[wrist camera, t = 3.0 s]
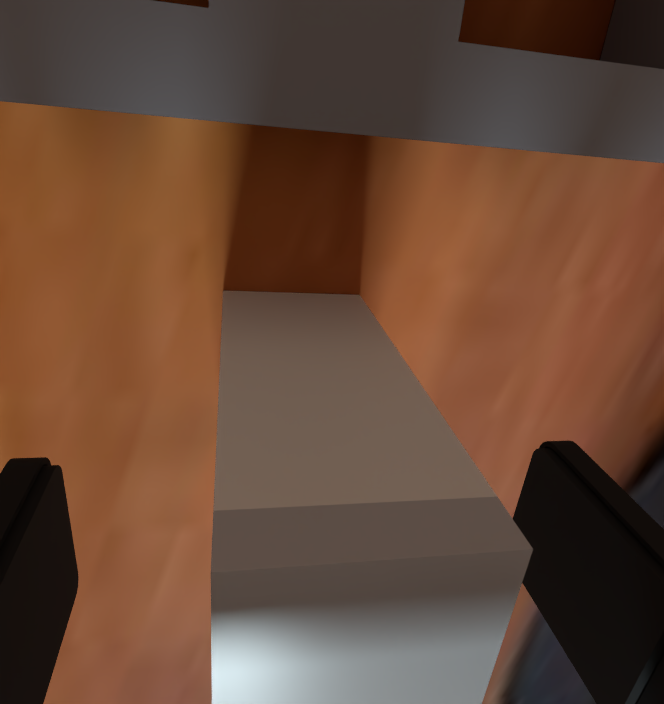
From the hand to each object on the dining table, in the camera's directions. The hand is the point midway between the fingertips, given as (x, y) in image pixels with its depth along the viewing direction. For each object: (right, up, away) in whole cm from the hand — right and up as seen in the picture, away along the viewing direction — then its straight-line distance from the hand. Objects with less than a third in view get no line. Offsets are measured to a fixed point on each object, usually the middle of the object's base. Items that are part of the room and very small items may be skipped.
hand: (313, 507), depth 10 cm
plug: (-1, +3, +6) cm, 6 cm away
